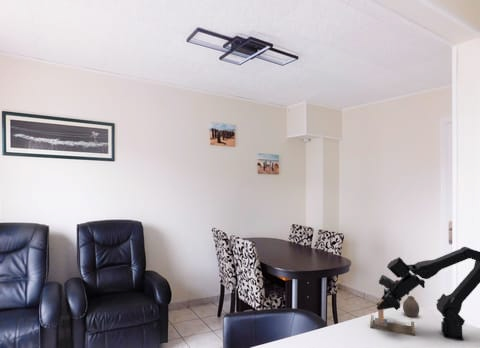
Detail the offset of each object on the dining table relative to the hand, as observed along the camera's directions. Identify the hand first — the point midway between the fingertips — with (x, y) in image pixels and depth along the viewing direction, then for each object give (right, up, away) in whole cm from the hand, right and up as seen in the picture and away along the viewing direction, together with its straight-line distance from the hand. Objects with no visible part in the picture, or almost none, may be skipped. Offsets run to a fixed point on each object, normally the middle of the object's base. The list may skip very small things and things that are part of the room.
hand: (377, 307), depth 142 cm
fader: (+1, -7, -1) cm, 7 cm away
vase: (+21, -9, +11) cm, 25 cm away
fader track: (+5, -8, -3) cm, 10 cm away
